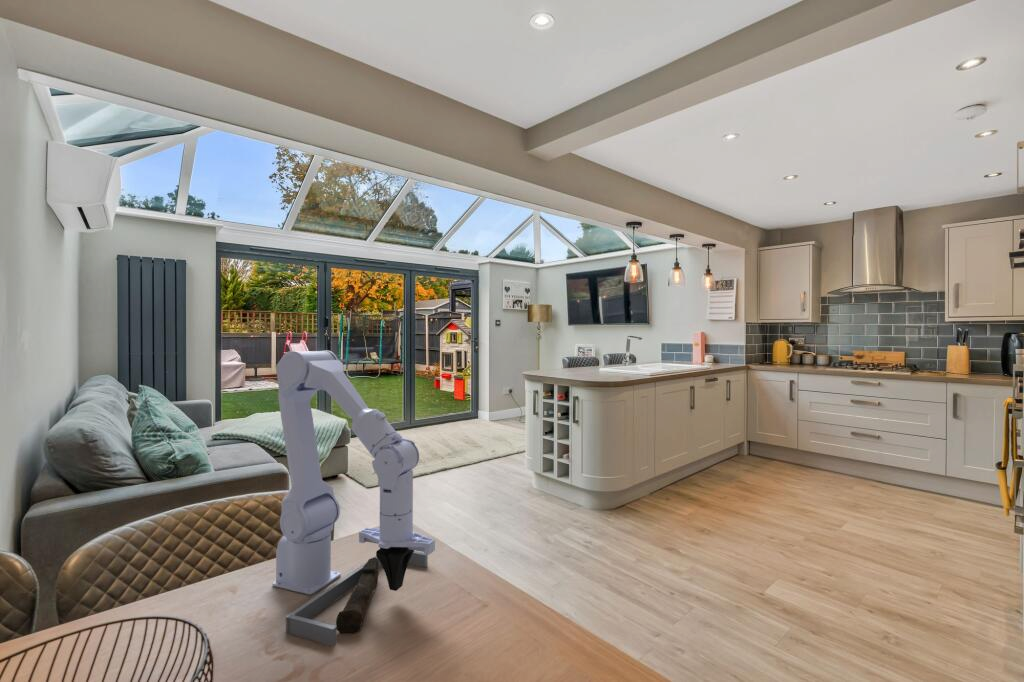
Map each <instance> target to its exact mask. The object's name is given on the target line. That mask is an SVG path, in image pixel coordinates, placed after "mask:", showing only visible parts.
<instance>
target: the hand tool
mask: <svg viewBox="0 0 1024 682" xmlns="http://www.w3.org/2000/svg"><path fill="white" fill-rule="evenodd" d="M373 557H374V558H373ZM373 557H371V558H369V559H368V560H367V561H366V562H367V563H366V562H365V563H366V564H365V563H364V564H365V565H364V567H363V569H362V575H361V577H360V579H359V582H358V583H357V585H356V586H355V587H354V588H353V591H352V592H351V594H350V596H349V598H348V600H347V602H346V605H345V607H344V609H343V610H341V611H339V612H338V614H337V616H336V619H335V620H336V621H335V624H336V625H335V626H337V632H338V633H339V634H345V635H347V634H348V635H350V634H357V633H359V632H360V631H361V628H362V623H363V621H364V615H366V612H367V610H368V609H367V608H368V606H369V603H370V602H371V598H372V597H373V594H374V592H375V591H376V590H377V586H378V583H379V573H380V572H379V569H378V560H377V558H375V556H373Z"/></svg>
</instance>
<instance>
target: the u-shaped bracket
mask: <svg viewBox="0 0 1024 682" xmlns="http://www.w3.org/2000/svg"><path fill="white" fill-rule="evenodd" d="M374 557H375V558H377V556H376V555H375V556H373V557H372V558H374ZM377 560H378V570H379V569H381V568H383V566H382V564H381V562H380V561H379V559H378V558H377ZM367 562H368V561H366V562H365V563H363V564H362V565H360V566H359V567H357V568H356V569H354V570H353V571H352V572H350V573H348V574H347V575H345V576H344V577H342V578H341V579H339V580H338V581H337V582H335V583H334V584H332V585H331V586H329V587H328V588H326V589H325V590H323V591H322V592H320V593H318V594H317V595H315V596H314V597H313V598H311V599H310V600H308V601H307V602H305V603H304V604H303V605H301V606H300V607H297V609H295V610H294V611H292V612H291V613H289V614H288V615H286V616H285V633H286V634H289V635H292V636H296V637H301V638H303V639H306V640H310V641H313V642H318V643H321V644H325V645H329V646H332V647H333V646H335V645H336V644H337V637H338V636H337V632H338V630H337V626H336V625H333V624H329V623H325V622H321V621H318V620H315V619H313V618H314V617H315V616H316V615H317V614H319V613H320V612H321V611H323V610H324V609H326V608H328V607H329V606H330V605H332V604H333V603H334V602H336V601H337V600H338V599H340V598H342V597H343V596H344V595H346V593H348V592H350V591H351V590H352V589H354V588H355V587H356V585H357V583H358V582H359V579H360V577H361V575H362V569H363V567H364V565H365V564H366V563H367ZM411 564H412V566H416V565H418V566H417V567H421V566H424V567H423V568H426V566H427V567H428V555H427V554H424V552H421V551H416V550H414V552H413V554H412V556H411V558H410V561H409V563H408V565H411Z"/></svg>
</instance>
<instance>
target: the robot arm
mask: <svg viewBox="0 0 1024 682" xmlns="http://www.w3.org/2000/svg"><path fill="white" fill-rule="evenodd" d="M275 371H276V377H277V383H278V393H277V396H278V397H277V398H278V399H277V400H278V405H279V406H278V407H279V411H280V419H281V425H282V431H283V432H282V433H283V439H284V446H285V451H286V452H285V453H286V459H287V466H288V472H289V478H290V479H289V480H290V485H291V486H290V487H291V488H290V489H289V490H288V492H287V493H286V494H285V496H284V497H283V498H282V501H281V502H280V506H281V514H280V517H279V527H280V530H281V533H282V537H281V538H280V539H279V541H278V543H277V546H276V553H275V555H276V556H275V557H276V558H275V559H276V561H275V569H276V570H275V581H273V582H272V586H273V587H277V588H281V589H285V590H288V591H294V592H297V593H300V594H301V593H302V594H306V595H313V594H315V593H317V592H318V591H320V590H321V589H323V588H324V587H325V586H327V585H329V584H330V583H332V582H333V581H335V580H336V579H338V578H339V577H341V576H342V574H341V572H338V571H335V570H331V569H332V568H331V567H332V566H331V565H332V563H331V561H332V560H331V558H332V557H331V556H332V555H331V553H332V549H331V548H332V531H333V530H334V524H335V523H336V522H337V521H338V519H339V517H340V514H341V508H340V504H339V501H338V500H337V498H336V496H335V492H334V488H333V486H332V485H330V484H329V483H327V482H326V481H324V480H323V477H322V470H321V465H320V464H321V463H320V457H319V451H318V443H317V438H316V431H315V424H314V418H313V413H312V405H311V400H312V399H313V398H314V396H315V395H316V394H317V393H318V391H320V390H321V391H325V392H327V394H328V395H329V396H330V397H331V398H332V399H333V401H335V402H336V403H337V404H338V405H339V407H340V408H341V409H342V410H343V411H344V412H345V414H346V415H347V416H348V417H349V418H350V419H352V423H351V431H352V432H353V433H354V434H355V436H356V437H357V438H358V440H359V441H360V442H361V443H362V445H363V446H364V447H365V448H366V450H367V451H368V452H369V454H370V455H371V456H372V458H373V460H372V461H371V462H372V463H371V466H372V468H373V470H374V473H375V475H376V477H377V485H378V486H379V528H368V527H365V528H363V529H361V530H360V531H359V532H358V542H359V543H361V544H364V543H366V542H367V543H372V544H376V545H378V548H379V549H378V550H377V551H376V552H375V556H377V558H378V559H379V561H380V562H381V564H382V568H383V570H384V574H385V576H386V580H387V584H388V588H389V590H390V591H395V592H397V591H398V590H400V589H401V588H402V587H403V585H404V584H403V583H404V580H405V576H406V575H405V574H406V571H407V568H408V565H409V564H408V563H409V561H410V558H411V556H412V554H413V552H414V551H417V552H422V553H424V554H427V555H430V554H433V552H434V551H436V539H435V538H429V537H428V536H425V535H422V534H419V533H417V532H415V531H413V530H414V526H413V524H414V519H413V518H414V516H413V515H414V510H413V509H414V505H413V504H414V503H413V502H414V469H415V468H416V467H417V466H418V463H419V461H420V453H419V449H418V447H417V445H416V444H415V442H414V441H413V440H412V439H409V438H405V437H403V436H402V435H401V434H400V433H399V432H397V431H396V430H395V428H394V427H393V425H392V424H390V422H389V421H388V420H387V415H386V413H384V412H383V411H380V410H379V409H377V408H369V407H368V405H367V404H366V402H365V401H364V399H363V398H362V396H361V395H360V394H359V392H358V391H357V390H356V387H355V386H354V385H353V384H352V382H351V381H350V379H349V378H348V377H347V375H346V374H345V372H344V363H343V362H342V361H341V360H340V359H339V358H338V357H337V355H336V354H335V352H333V351H331V350H327V349H325V350H317V351H316V350H311V351H309V350H308V351H297V350H289V351H287V352H285V353H284V354H283V356H282V357H281V359H280V360H279V361H278V362H277V364H276V366H275ZM338 405H337V406H338Z"/></svg>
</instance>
